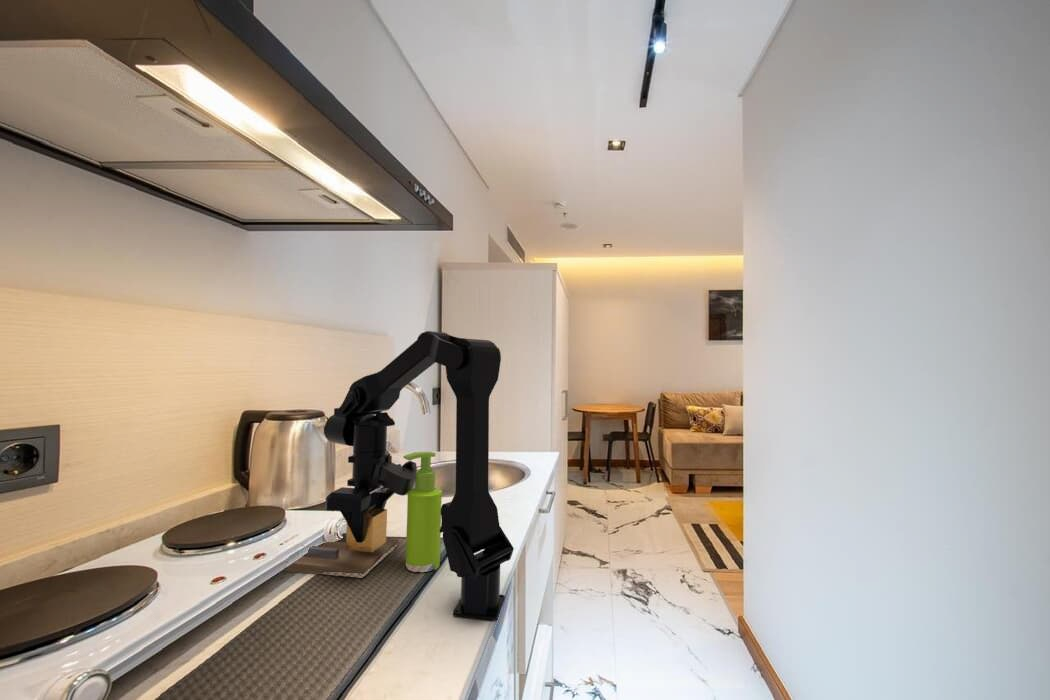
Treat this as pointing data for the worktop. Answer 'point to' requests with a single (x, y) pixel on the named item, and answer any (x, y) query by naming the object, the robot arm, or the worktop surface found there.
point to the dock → (339, 558)
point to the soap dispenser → (423, 515)
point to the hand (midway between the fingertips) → (367, 536)
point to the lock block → (370, 532)
